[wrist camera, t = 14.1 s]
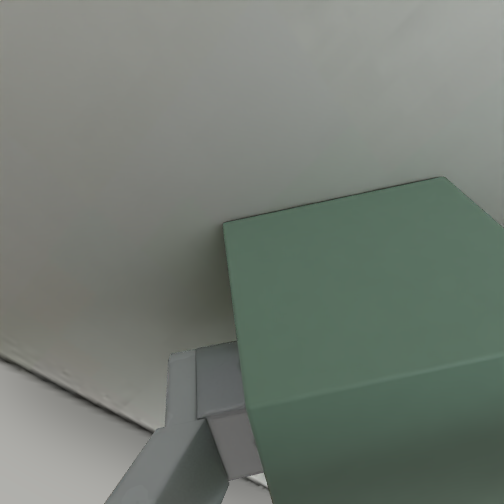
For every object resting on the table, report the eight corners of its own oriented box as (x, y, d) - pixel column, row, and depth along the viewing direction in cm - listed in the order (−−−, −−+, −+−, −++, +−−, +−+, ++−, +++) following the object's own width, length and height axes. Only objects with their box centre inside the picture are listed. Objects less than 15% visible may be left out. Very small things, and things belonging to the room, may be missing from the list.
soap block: (259, 375, 12) (292, 575, 8) (222, 222, 9) (245, 408, 5) (434, 338, 12) (552, 521, 8) (444, 174, 9) (622, 328, 5)
